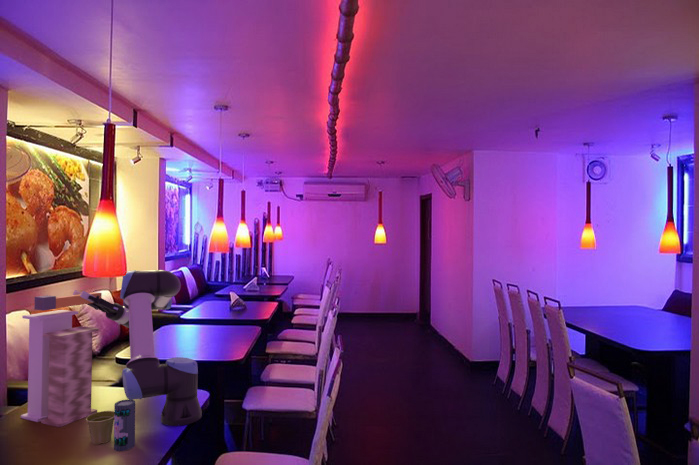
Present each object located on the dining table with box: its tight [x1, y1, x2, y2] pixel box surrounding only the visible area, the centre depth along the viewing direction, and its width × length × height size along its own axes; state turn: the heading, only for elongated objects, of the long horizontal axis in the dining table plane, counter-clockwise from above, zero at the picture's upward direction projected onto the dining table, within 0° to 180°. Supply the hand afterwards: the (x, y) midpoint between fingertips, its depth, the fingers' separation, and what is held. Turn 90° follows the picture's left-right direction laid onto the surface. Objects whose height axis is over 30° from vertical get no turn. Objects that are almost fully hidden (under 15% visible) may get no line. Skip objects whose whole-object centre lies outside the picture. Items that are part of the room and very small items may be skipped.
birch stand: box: [40, 325, 100, 428], centre depth 178 cm, size 16×10×34 cm, turn 158°
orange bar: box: [33, 291, 103, 312], centre depth 189 cm, size 26×5×5 cm, turn 158°
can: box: [113, 399, 136, 452], centre depth 154 cm, size 6×6×15 cm
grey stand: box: [20, 309, 79, 423], centre depth 182 cm, size 16×10×40 cm, turn 158°
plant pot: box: [85, 410, 114, 445], centre depth 158 cm, size 9×9×9 cm
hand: (78, 293), depth 192 cm, fingers closed on orange bar, 4 cm apart
